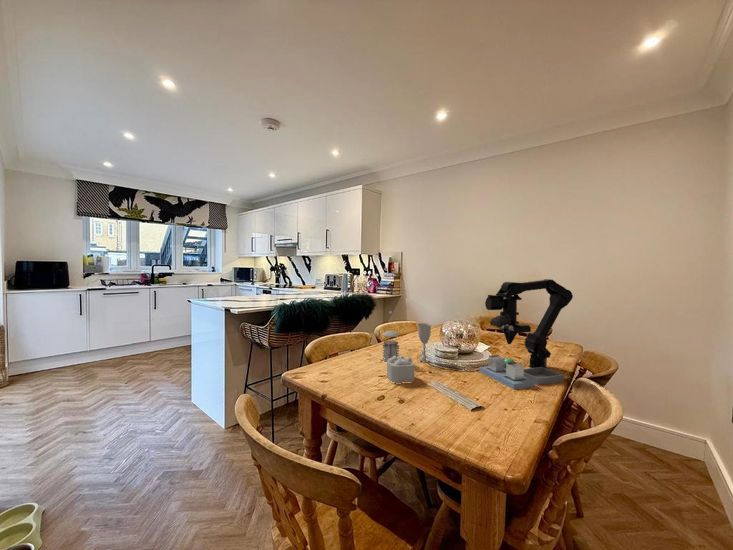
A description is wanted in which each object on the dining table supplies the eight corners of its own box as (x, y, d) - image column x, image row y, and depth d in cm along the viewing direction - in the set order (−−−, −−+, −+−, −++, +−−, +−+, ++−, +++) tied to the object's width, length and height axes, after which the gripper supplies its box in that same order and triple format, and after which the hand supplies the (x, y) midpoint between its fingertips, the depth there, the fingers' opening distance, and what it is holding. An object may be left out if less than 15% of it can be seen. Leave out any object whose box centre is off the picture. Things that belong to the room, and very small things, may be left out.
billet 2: (514, 381, 123) (515, 361, 123) (523, 385, 119) (523, 365, 118) (505, 383, 122) (506, 362, 121) (514, 387, 117) (514, 366, 117)
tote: (541, 373, 132) (541, 366, 132) (564, 382, 122) (564, 375, 122) (516, 376, 128) (516, 369, 128) (537, 386, 118) (537, 378, 118)
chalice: (427, 364, 144) (427, 326, 144) (414, 361, 149) (414, 324, 148) (433, 360, 150) (434, 324, 150) (421, 357, 154) (421, 322, 154)
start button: (508, 364, 140) (509, 357, 140) (515, 367, 136) (515, 360, 136) (501, 365, 139) (501, 358, 139) (508, 367, 135) (508, 361, 135)
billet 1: (497, 373, 132) (497, 354, 132) (504, 376, 128) (504, 357, 128) (488, 374, 131) (488, 355, 131) (495, 378, 127) (496, 358, 127)
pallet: (497, 370, 136) (497, 365, 136) (534, 387, 117) (534, 381, 117) (478, 372, 133) (479, 367, 133) (513, 390, 114) (513, 384, 114)
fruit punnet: (391, 385, 119) (391, 363, 119) (383, 373, 132) (383, 353, 132) (416, 383, 121) (417, 361, 121) (406, 372, 134) (406, 352, 134)
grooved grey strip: (427, 386, 119) (427, 382, 119) (441, 384, 122) (441, 379, 122) (470, 413, 98) (470, 408, 98) (486, 409, 100) (487, 404, 100)
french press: (400, 359, 152) (401, 309, 151) (401, 367, 140) (401, 313, 139) (381, 358, 153) (381, 309, 152) (379, 366, 141) (380, 312, 140)
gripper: (481, 307, 143) (480, 340, 144) (510, 313, 126) (510, 351, 126) (500, 306, 147) (500, 338, 147) (532, 312, 129) (531, 348, 129)
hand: (509, 344), depth 137 cm, fingers closed
